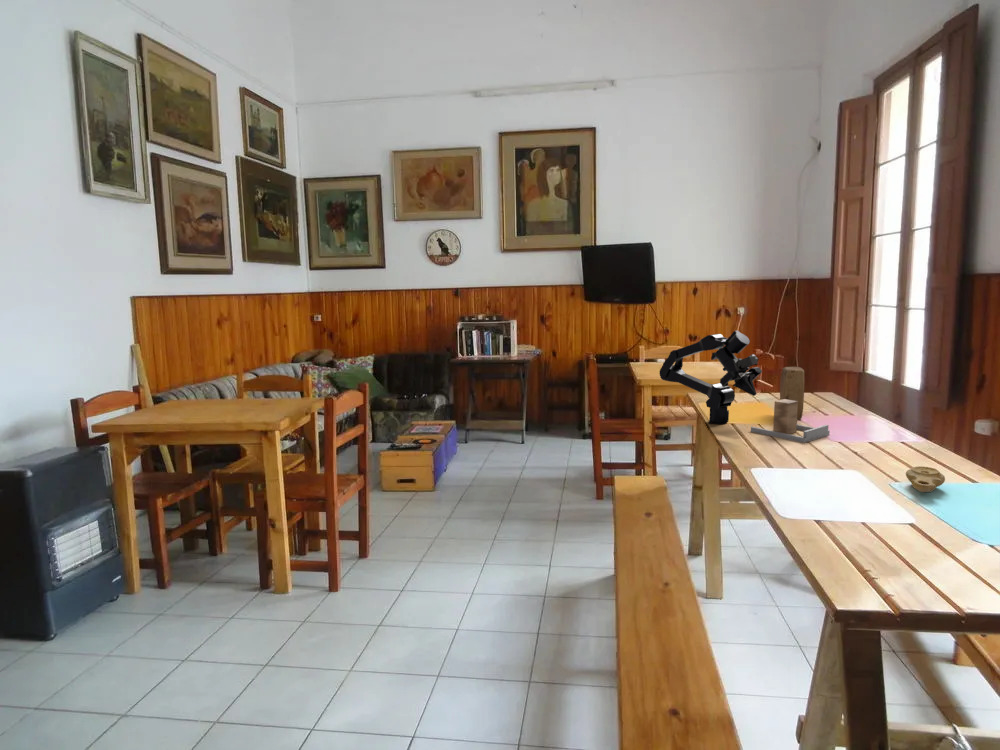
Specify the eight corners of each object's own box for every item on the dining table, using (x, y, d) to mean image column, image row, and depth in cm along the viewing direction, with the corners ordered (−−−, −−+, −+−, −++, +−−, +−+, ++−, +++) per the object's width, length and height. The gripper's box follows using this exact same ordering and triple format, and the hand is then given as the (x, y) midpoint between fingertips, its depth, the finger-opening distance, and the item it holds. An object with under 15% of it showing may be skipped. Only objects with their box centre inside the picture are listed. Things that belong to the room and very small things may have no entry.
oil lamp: (917, 499, 159) (918, 480, 158) (889, 480, 173) (891, 463, 172) (962, 500, 157) (964, 481, 156) (931, 481, 171) (933, 464, 170)
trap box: (750, 435, 222) (751, 421, 221) (776, 428, 231) (776, 415, 230) (804, 447, 206) (804, 432, 205) (829, 439, 215) (830, 424, 214)
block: (803, 421, 241) (806, 369, 237) (782, 420, 242) (785, 369, 239) (797, 415, 251) (800, 365, 248) (777, 414, 253) (779, 365, 250)
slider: (773, 432, 220) (774, 401, 218) (782, 429, 223) (784, 399, 221) (786, 434, 216) (788, 403, 214) (796, 432, 219) (797, 401, 217)
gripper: (728, 349, 224) (755, 384, 216) (758, 345, 234) (785, 378, 227) (708, 369, 231) (734, 403, 224) (739, 364, 242) (764, 396, 235)
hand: (755, 394), depth 227 cm, fingers closed
